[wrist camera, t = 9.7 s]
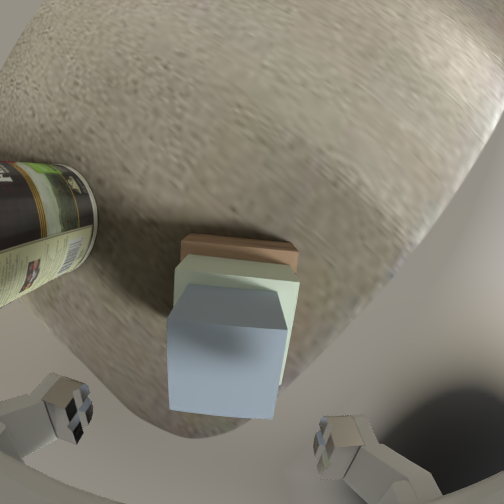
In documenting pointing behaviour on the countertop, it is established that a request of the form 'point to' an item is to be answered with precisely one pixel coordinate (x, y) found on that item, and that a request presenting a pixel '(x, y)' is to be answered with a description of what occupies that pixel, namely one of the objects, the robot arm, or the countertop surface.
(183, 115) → the countertop surface
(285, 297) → the sage block
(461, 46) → the countertop surface
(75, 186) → the coffee can
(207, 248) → the walnut slab
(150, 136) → the countertop surface
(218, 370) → the slate cube
